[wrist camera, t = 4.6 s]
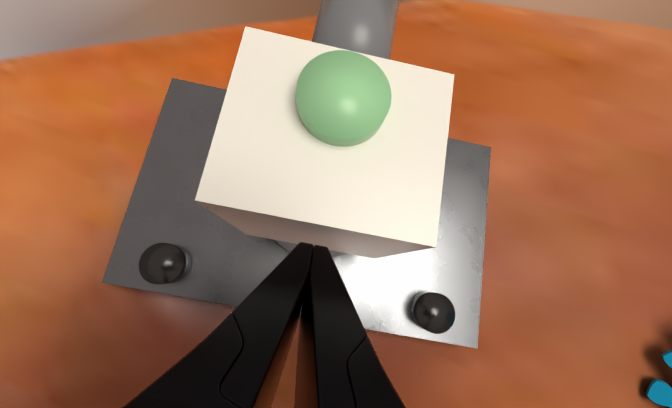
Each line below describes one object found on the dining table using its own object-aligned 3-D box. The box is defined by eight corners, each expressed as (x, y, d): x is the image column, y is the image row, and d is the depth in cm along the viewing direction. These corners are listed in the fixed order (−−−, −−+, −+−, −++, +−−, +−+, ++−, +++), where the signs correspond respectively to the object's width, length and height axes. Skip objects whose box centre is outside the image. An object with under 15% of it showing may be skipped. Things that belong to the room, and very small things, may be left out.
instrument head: (368, 269, 15) (444, 267, 7) (247, 246, 15) (179, 216, 7) (393, 100, 18) (475, -54, 9) (288, 77, 17) (276, -107, 9)
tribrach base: (459, 340, 19) (490, 353, 16) (123, 281, 18) (86, 283, 15) (474, 158, 22) (502, 139, 19) (184, 96, 21) (163, 65, 17)
